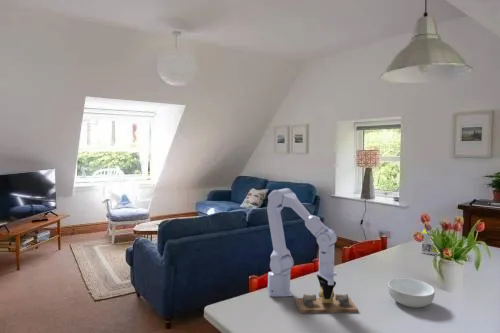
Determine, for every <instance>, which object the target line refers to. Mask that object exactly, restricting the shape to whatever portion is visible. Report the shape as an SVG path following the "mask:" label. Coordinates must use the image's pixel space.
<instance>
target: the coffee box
mask: <svg viewBox="0 0 500 333" xmlns="http://www.w3.org/2000/svg"><path fill="white" fill-rule="evenodd" d="M425 229H426V228H423V229H422V231H421V235H422V234H423V235H424V242H420V244H421V245H420V254H424V253H425V254H424V255H431V254H432V256H436V255H435V254H438V252H437V250H436V248H435V247H434V246H433V245H431V244H429V243H432V241H431V240H430V238H429V236H428V235H427V232H426V230H425Z"/></svg>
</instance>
